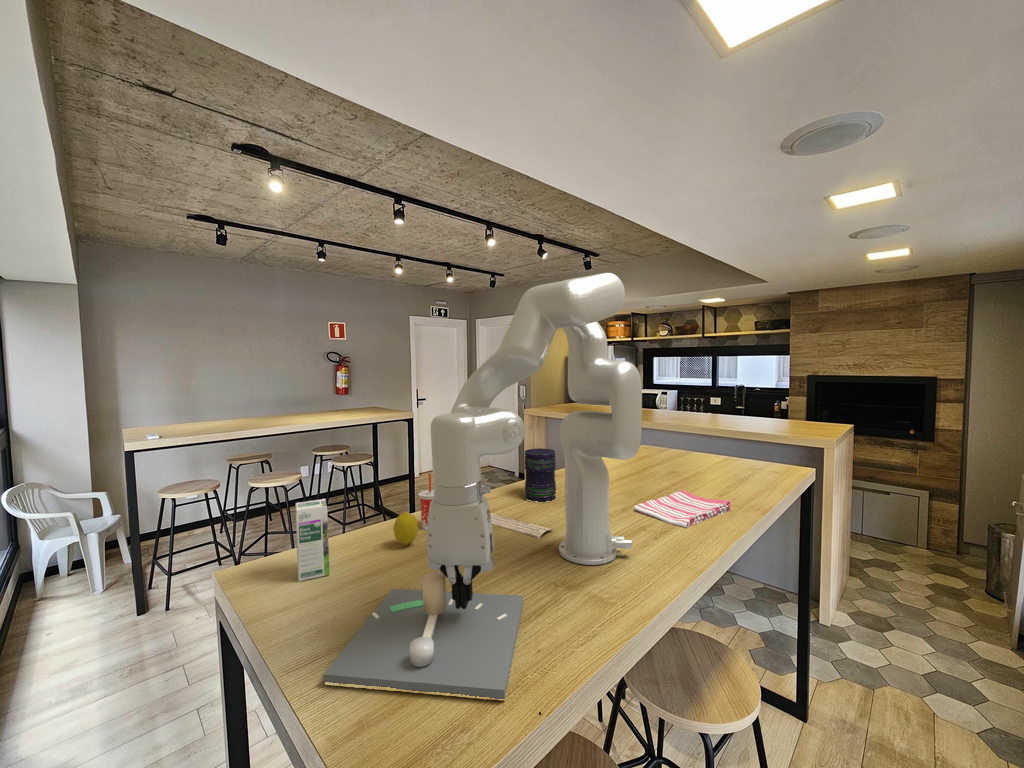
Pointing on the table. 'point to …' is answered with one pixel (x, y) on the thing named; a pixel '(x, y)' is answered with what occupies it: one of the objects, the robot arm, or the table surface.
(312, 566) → the syrup box
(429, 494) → the beverage cup
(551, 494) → the storage jar
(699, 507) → the dish towel
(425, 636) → the tuning lever
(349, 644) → the dial board
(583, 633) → the table surface
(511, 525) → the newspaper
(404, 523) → the lemon
